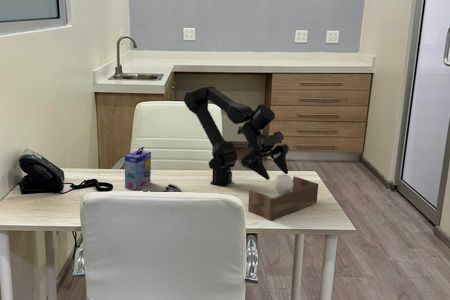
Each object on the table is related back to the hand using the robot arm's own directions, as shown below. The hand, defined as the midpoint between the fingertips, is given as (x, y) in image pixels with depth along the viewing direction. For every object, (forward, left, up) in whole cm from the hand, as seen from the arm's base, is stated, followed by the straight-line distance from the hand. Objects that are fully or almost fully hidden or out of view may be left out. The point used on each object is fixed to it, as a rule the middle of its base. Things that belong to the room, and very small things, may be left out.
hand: (278, 176), depth 149 cm
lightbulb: (+2, -1, -10) cm, 10 cm away
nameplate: (-34, -17, -10) cm, 39 cm away
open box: (+2, -1, -10) cm, 10 cm away
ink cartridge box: (-51, -9, -10) cm, 52 cm away
